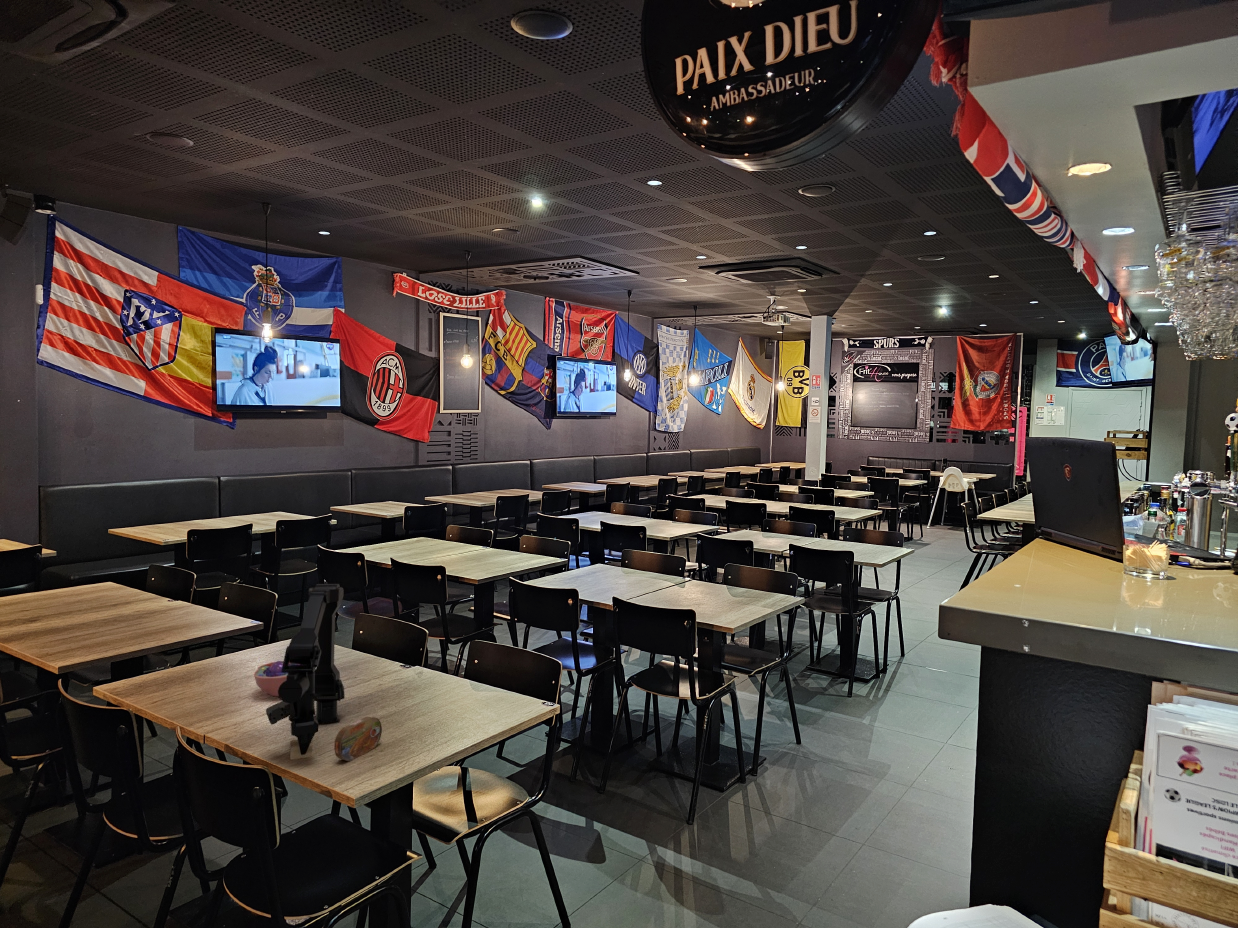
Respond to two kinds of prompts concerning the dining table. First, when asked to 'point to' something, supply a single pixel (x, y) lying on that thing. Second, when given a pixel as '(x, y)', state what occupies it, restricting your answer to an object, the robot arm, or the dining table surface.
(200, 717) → the dining table surface
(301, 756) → the oak block
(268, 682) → the cell model
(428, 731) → the dining table surface
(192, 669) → the dining table surface
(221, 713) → the dining table surface
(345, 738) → the tin
